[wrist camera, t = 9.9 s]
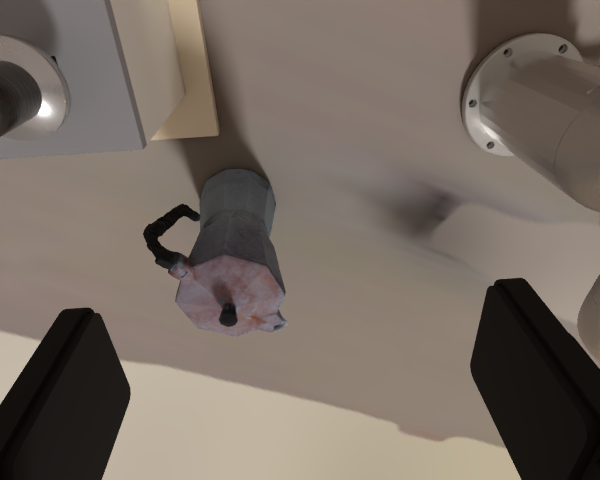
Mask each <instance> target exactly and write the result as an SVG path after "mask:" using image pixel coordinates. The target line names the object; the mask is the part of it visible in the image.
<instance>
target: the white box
mask: <svg viewBox="0 0 600 480" xmlns="http://www.w3.org/2000/svg"><path fill="white" fill-rule="evenodd" d="M0 34H10V35H14V36H18V37H21V38H23V39H26V40H28V41H30V42H32V43H34V44H35V45H37V46H38V47H40V48H41V49H42V50H43V51H45V52H46V53H47V54H48V55H49V56H50V57H51V58H52V59H53V60H54V61H57V64H58V66H59V68H60V69H61V71H62V73H63V74H64V76H65V78H66V81H67V83H68V86H69V90H70V95H71V108H70V113H69V116H68V118H67V120H66V122H65V123H64V124H63V126H61V127H60V128H59V129H58V130H57V131H55V132H54V133H53V134H51V135H50V136H48V137H46V138H44V139H41V140H37V141H18V140H13V139H10V138H7V137H4V136H1V137H0V159H12V158H27V157H42V156H56V155H71V154H85V153H100V152H115V151H129V150H143V149H144V148H145V147H146V145H147V144H148V143H149V141H150V140H163V139H178V138H192V137H207V136H218V135H219V132H220V129H219V123H218V116H217V110H216V104H215V97H214V91H213V85H212V79H211V72H210V66H209V60H208V53H207V47H206V41H205V34H204V28H203V22H202V16H201V9H200V3H199V0H0Z"/></svg>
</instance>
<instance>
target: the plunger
mask: <svg viewBox="0 0 600 480" xmlns="http://www.w3.org/2000/svg"><path fill="white" fill-rule="evenodd" d="M70 108H71V95H70V90H69V86H68V83H67V81H66V78H65V76H64V74H63V73H62V71H61V69H60V68H59V66H58V64H57V61H54V60H53V59H52V58H51V57H50V56H49V55H48V54H47V53H46V52H45V51H43V50H42V49H41V48H40V47H38V46H37V45H35V44H34V43H32V42H30V41H28V40H26V39H23V38H21V37H18V36H14V35H10V34H0V137H1V136H4V137H7V138H10V139H13V140H18V141H37V140H41V139H44V138H46V137H48V136H50V135H51V134H53V133H54V132H55V131H57V130H58V129H59V128H60V127H61V126H63V124H64V123H65V122H66V120H67V118H68V116H69V113H70Z"/></svg>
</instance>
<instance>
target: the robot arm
mask: <svg viewBox="0 0 600 480" xmlns="http://www.w3.org/2000/svg"><path fill="white" fill-rule="evenodd" d="M559 48H560V49H559ZM505 50H506V53H505V54H504V51H505ZM470 100H472V101H471V103H469V101H470ZM462 120H463V125H464V127H465V130H466V132H467V134H468V135H469V137H470V138H471V139H472V141H473V142H474V143H475V144H477V145H478V146H479V147H480V148H481V149H483V150H484V151H486V152H488V153H491V154H494V155H499V156H517V157H518V158H519V159H521V160H522V161H523V162H525V163H526V164H527V165H529V166H530V167H531V168H532V169H534V170H535V171H536V172H538V173H539V174H540V175H542V176H543V177H544V178H546V179H547V180H548V181H549V182H551V183H552V184H553V185H555V186H556V187H557V188H559V189H560V190H561V191H563V192H564V193H565V194H567V195H568V196H569V197H571V198H572V199H573V200H575V201H576V202H577V203H579V204H581V205H583V206H584V207H586V208H589V209H591V210H594V211H597V212H600V67H597V66H594V65H590V64H587V63H584V61H583V58H582V57H581V55H580V53H579V51H578V50H577V49H576V48H575V47H574V46H573V44H572V43H571V42H569V41H567V40H565V39H564V38H562V37H559V36H556V35H552V34H546V33H528V34H525V35H521V36H517V37H515V38H513V39H510V40H508V41H506V42H504V43H503V44H501V45H500V46H498V47H497V48H495V49H494V50H493V51H492V52H490V53H489V54H488V55H487V56H486V57H485V58H484V59H483V60H482V61H481V63H480V64H479V65H478V67H477V68H476V69H475V70H474V72H473V74H472V76H471V77H470V79H469V81H468V83H467V86H466V89H465V91H464V95H463V100H462ZM487 143H488V144H487ZM577 327H578V332H579V335H580V338H581V340H582V342H583V344H584V345H585V347H586V348H587V350H588V351H589V352H590V353H591V355H592V356H593V357H594V358H595V359H596V360H597V361H598V362H599V363H600V275H599V276H598V278H597V279H596V281H595V283H594V285H593V287H592V288H591V290H590V291H589V293H588V294H587V296H586V298H585V300H584V302H583V304H582V306H581V308H580V311H579V315H578V323H577ZM470 368H471V373H472V377H473V379H474V381H475V383H476V385H477V387H478V389H479V392H480V394H481V396H482V398H483V400H484V402H485V404H486V406H487V408H488V410H489V413H490V415H491V417H492V419H493V421H494V423H495V425H496V427H497V429H498V431H499V434H500V436H501V438H502V440H503V442H504V444H505V446H506V448H507V450H508V452H509V454H510V457H511V459H512V461H513V463H514V465H515V467H516V469H517V471H518V473H519V475H520V477H521V480H600V369H599V368H598V367H597V365H596V364H595V363H594V362H593V360H592V359H591V358H590V357H589V355H588V354H587V353H586V352H585V350H584V349H583V348H582V347H581V346H580V344H579V343H578V342H577V341H576V339H575V338H574V337H573V336H572V335H571V334H570V333H568V332H567V331H566V329H565V328H564V327H563V326H562V324H561V323H560V322H559V321H558V320H557V318H556V317H555V316H554V315H553V313H552V312H551V311H550V310H549V308H548V307H547V306H546V305H545V303H544V302H543V301H542V300H541V298H540V297H539V296H538V295H537V293H536V292H535V291H534V290H533V288H532V287H531V286H530V285H529V284H528V282H527V281H526V280H525V279H523V278H513V279H499V280H496V282H495V283H494V286H489V287H488V289H487V292H486V297H485V301H484V306H483V310H482V314H481V319H480V323H479V327H478V332H477V336H476V341H475V345H474V349H473V354H472V358H471V363H470ZM129 400H130V386H129V383H128V381H127V378H126V376H125V373H124V371H123V368H122V366H121V364H120V361H119V359H118V356H117V354H116V351H115V349H114V346H113V344H112V341H111V339H110V336H109V334H108V331H107V329H106V326H105V324H104V322H103V319H102V317H101V315H100V314H99V313H94V311H93V310H92V309H91V308H75V309H65V310H62V311H61V313H60V314H59V315H58V317H57V318H56V320H55V321H54V323H53V324H52V326H51V328H50V329H49V331H48V332H47V334H46V335H45V337H44V338H43V340H42V341H41V343H40V344H39V346H38V348H37V349H36V351H35V352H34V354H33V355H32V357H31V358H30V360H29V361H28V363H27V365H26V366H25V368H24V369H23V371H22V372H21V374H20V375H19V377H18V378H17V380H16V381H15V383H14V384H13V386H12V388H11V389H10V391H9V392H8V394H7V395H6V397H5V398H4V400H3V401H2V403H1V404H0V480H102V477H103V474H104V472H105V469H106V466H107V463H108V460H109V457H110V455H111V452H112V449H113V446H114V443H115V440H116V438H117V435H118V432H119V429H120V426H121V423H122V420H123V417H124V415H125V412H126V409H127V407H128V403H129Z"/></svg>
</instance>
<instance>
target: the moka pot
mask: <svg viewBox="0 0 600 480" xmlns="http://www.w3.org/2000/svg"><path fill="white" fill-rule="evenodd" d="M275 206H276V202H275V198H274V194H273V191H272V188H271V185H270V184H269V183H268V182H267V181H266V180H265V179H263V178H262V177H261V176H259V175H258V174H256V173H255V172H253V171H250V170H245V169H226V170H223V171H221V172H219V173H217V174H216V175H214V176H212V177H211V178H210V179H208V180H206V182H205V185H204V187H203V190H202V194H201V198H200V214H198V213H197V212H195V211H193V210H192V209H191V208H189V206H187V205H184V204H180V205H179V206H177V207H175V208H173V209H172V210H171V211H170V212H168V213H166V214H165V215H164V216H163V217H161V218H158V220H157V221H155V222H153V223H152V224H149V225H148V226H147V227H146V228H145V230H144V233H143V235H144V238H145V240H146V242H147V247H148V249H149V250H150V251H152V253H153V254H154V256H155V257H156V260H155V262H156V264H158V265H160V266H162V267H163V268H166V269H169V270H168V273H169V274H170V275H172V276H173V277H175V278H177V279H178V280H180V284H179V287H178V291H177V295H176V300H175V302H176V303H177V305H178V306H179V307H180V308H181V309H182V310H183V312H184V313H185V314H186V315H187V316H188V318H189V319H190V320H191V321H192V322H193V323H194V324H195V325H196V327H197V328H199V329H203V330H208V331H213V332H218V333H222V334H227V335H231V336H240V335H243V334H245V333H249V332H251V331H254V330H262V331H267V332H274V331H279V330H282V329H283V328H284V327H285V326H286V325H287V324H288V322H287V321H286V320H285V319H284V318H283V317H282V316H281V314H280V312H279V310H278V309H279V307H280V305H281V304H282V301H283V299H284V296H285V293H286V292H285V288H284V284H283V280H282V277H281V273H280V270H279V265H278V261H277V257H276V253H275V249H274V246H273V244H272V243H271V241H270V239H269V237H270V234H271V228H272V223H273V218H274V212H275ZM183 216H186V217H188V218H190V219H191V220H193V221H199V220H200V233H199V236H198V238H197V241H196V243H195V245H194V247H193V249H192V251H191V254H190V256H189V258H188V257H186V256H184V255H183V254H181V253H178V252H172V251H169V250H167V249H165V248H164V247H163V246H161V244H160V242H158V239H157V238H158V237H159V236H162V235H163V233H164V232H166V230H168V229H169V228H170V227H171V226H173V225H174V224H175V223H176V221H177V220H178V219H179V218H181V217H183Z"/></svg>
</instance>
